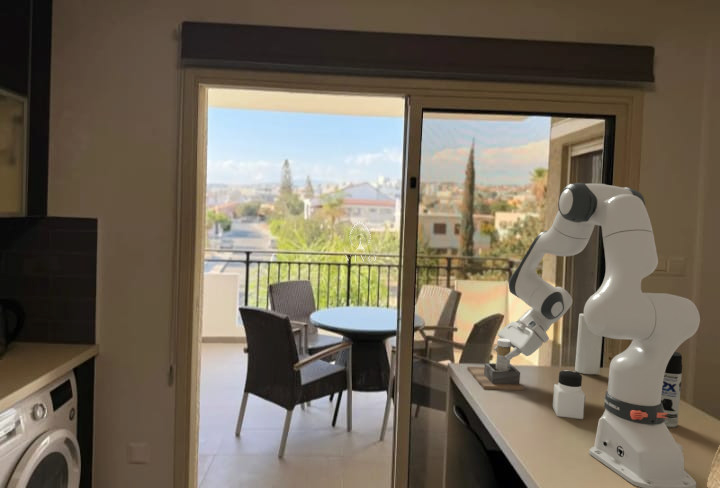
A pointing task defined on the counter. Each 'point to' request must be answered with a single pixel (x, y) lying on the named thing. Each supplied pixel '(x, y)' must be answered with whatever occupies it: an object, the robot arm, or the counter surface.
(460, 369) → the counter surface
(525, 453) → the counter surface
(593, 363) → the paper towel roll
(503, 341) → the sprinkles bottle
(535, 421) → the counter surface
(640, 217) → the robot arm
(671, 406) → the spray can
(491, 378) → the socket block
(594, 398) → the counter surface
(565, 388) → the medicine bottle
